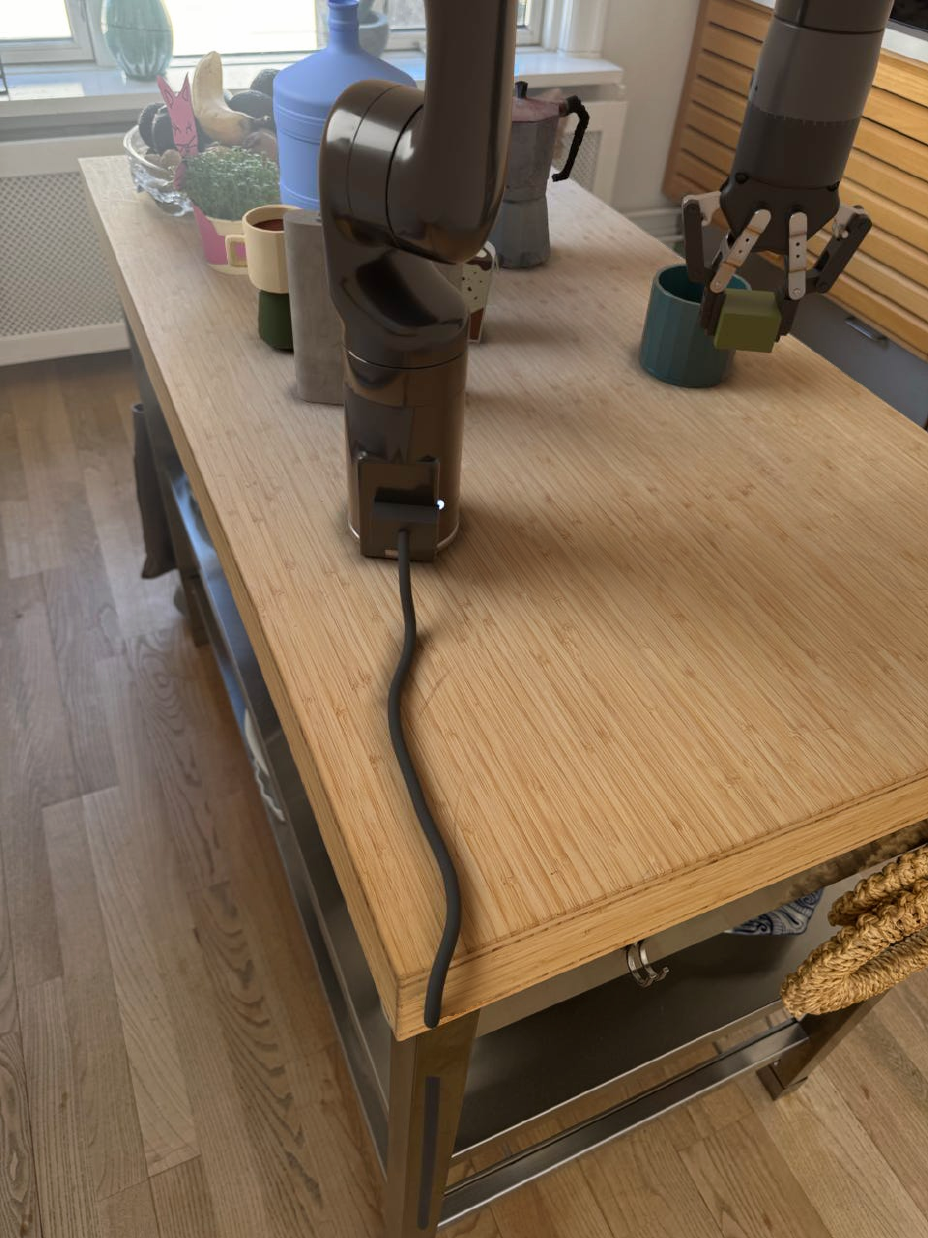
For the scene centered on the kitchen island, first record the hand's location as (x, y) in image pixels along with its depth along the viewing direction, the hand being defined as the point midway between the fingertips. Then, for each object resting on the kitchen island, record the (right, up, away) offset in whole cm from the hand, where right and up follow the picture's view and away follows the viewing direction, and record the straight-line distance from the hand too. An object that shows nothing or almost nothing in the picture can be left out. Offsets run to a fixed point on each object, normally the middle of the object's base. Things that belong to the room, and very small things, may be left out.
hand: (740, 333), depth 74 cm
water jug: (-36, +20, +40) cm, 57 cm away
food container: (-25, +10, +31) cm, 41 cm away
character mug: (-41, +7, +27) cm, 50 cm away
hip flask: (-31, 0, +19) cm, 36 cm away
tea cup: (+2, +5, +28) cm, 28 cm away
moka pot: (-15, +24, +46) cm, 54 cm away
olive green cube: (0, 0, 0) cm, 0 cm away
